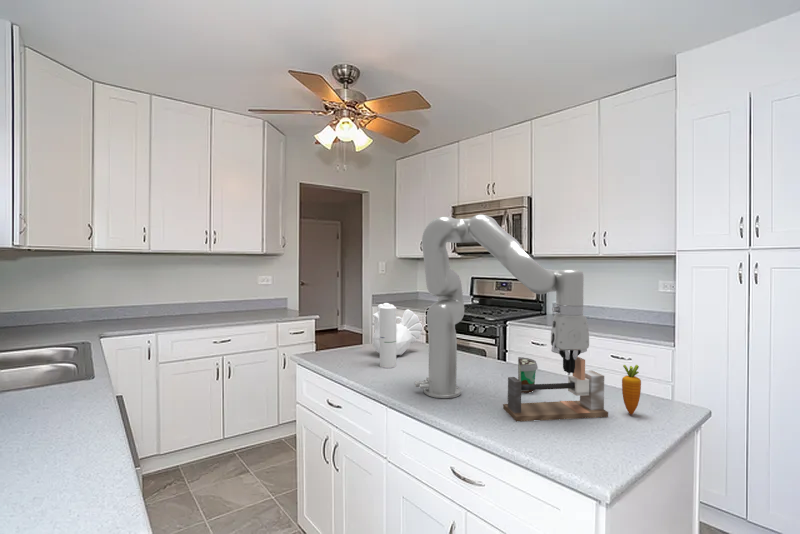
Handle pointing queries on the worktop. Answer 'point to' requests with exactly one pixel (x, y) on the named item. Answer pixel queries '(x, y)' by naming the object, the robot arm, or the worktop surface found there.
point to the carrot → (631, 389)
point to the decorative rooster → (399, 330)
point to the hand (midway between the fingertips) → (568, 371)
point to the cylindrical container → (388, 336)
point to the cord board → (557, 410)
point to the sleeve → (579, 379)
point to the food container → (526, 372)
